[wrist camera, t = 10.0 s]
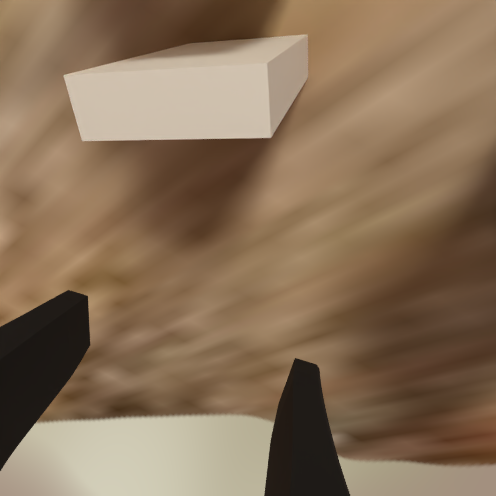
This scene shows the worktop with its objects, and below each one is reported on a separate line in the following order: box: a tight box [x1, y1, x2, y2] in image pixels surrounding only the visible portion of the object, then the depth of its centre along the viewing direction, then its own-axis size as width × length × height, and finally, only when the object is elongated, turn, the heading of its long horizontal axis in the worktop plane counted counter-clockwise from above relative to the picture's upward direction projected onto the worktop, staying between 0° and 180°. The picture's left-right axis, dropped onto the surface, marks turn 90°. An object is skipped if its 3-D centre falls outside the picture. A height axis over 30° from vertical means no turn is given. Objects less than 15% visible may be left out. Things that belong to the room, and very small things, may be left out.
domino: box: [64, 35, 308, 141], centre depth 13 cm, size 2×5×9 cm, turn 94°
